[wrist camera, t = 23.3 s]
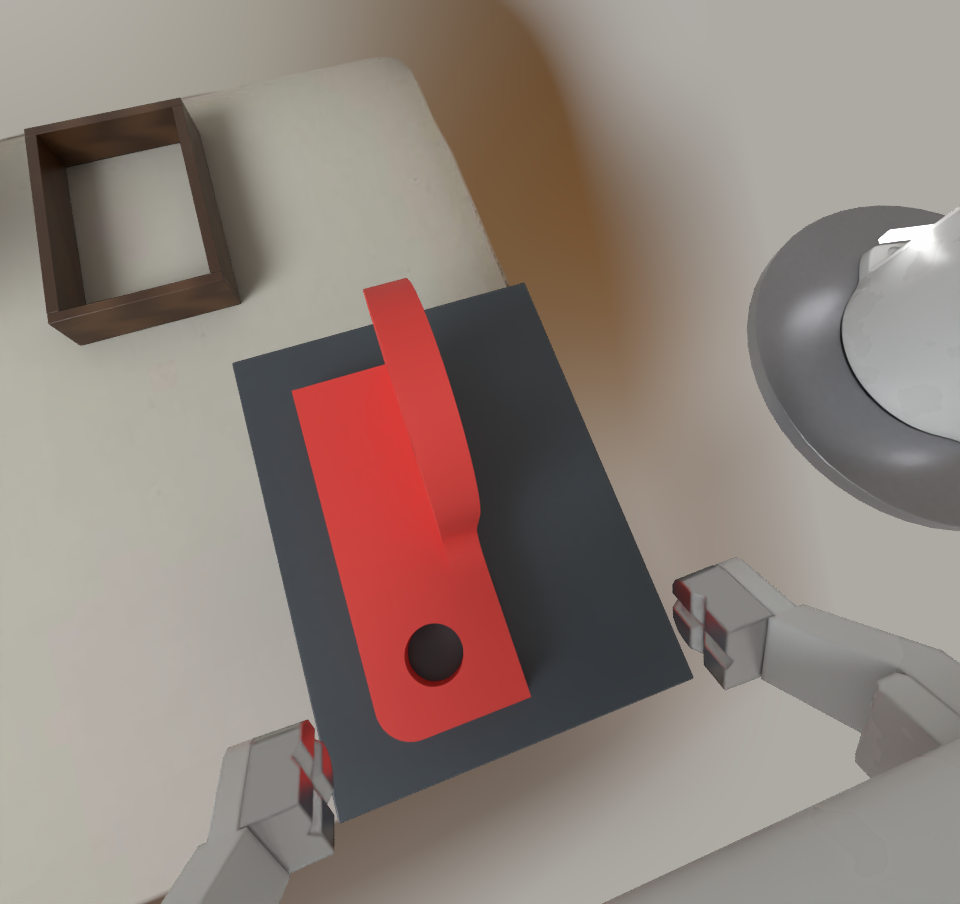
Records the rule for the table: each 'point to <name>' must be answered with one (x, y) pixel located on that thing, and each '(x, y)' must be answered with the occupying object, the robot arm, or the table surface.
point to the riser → (503, 539)
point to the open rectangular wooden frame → (56, 231)
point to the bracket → (408, 525)
